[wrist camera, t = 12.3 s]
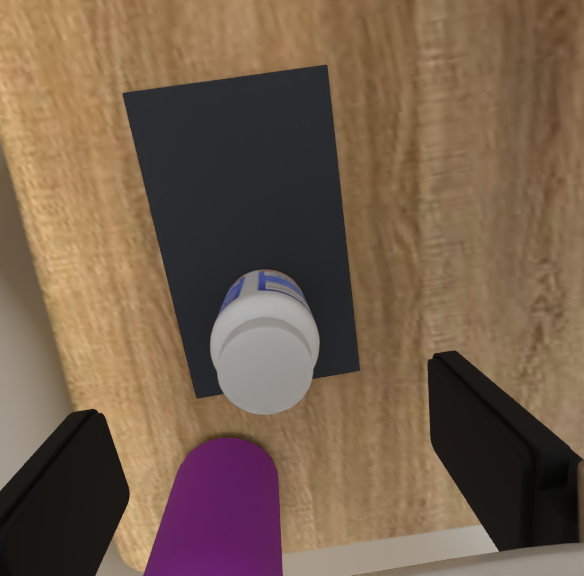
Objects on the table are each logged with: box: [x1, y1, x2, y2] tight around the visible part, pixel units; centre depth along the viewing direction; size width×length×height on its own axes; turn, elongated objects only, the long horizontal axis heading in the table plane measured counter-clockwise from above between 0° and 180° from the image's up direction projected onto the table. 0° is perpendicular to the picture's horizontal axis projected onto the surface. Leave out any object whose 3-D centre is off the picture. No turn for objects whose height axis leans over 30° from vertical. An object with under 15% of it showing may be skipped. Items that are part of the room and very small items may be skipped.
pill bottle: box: [210, 270, 320, 415], centre depth 19 cm, size 5×5×10 cm
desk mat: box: [123, 65, 360, 398], centre depth 23 cm, size 20×12×1 cm, turn 8°
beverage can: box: [143, 438, 283, 576], centre depth 21 cm, size 8×8×12 cm
